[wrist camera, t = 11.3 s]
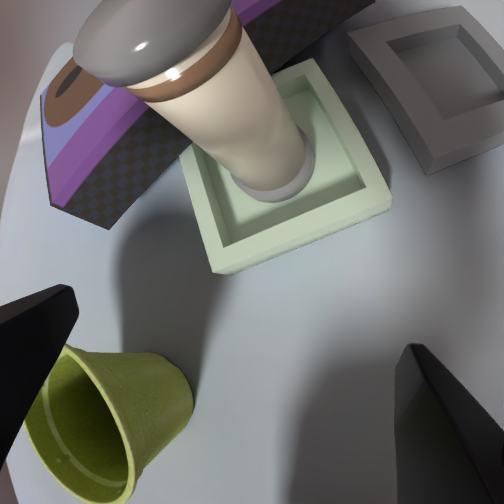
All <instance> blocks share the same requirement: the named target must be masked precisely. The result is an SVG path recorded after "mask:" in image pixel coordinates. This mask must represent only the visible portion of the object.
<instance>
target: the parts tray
mask: <svg viewBox="0 0 504 504" xmlns="http://www.w3.org/2000/svg"><path fill="white" fill-rule="evenodd" d="M270 76H271V78H272V80H273V82H274V84H275V85H276V87H277V89H278V91H279V93H280V95H281V97H282V99H283V101H284V103H285V105H286V107H287V109H288V111H289V113H290V115H291V117H292V119H293V121H294V123H295V124H296V125H297V126H298V127H300V128H301V129H302V130H303V131H304V133H305V134H306V136H307V137H308V140H309V142H310V144H311V146H312V149H313V151H314V155H315V168H314V172H313V175H312V177H311V179H310V181H309V183H308V184H307V186H306V187H305V188H304V189H303V190H302V191H301V192H300V193H298V194H297V195H296V196H294V197H292V198H290V199H288V200H285V201H282V202H277V203H266V202H261V201H258V200H255V199H253V198H252V197H250V196H249V195H248V194H246V193H245V192H244V191H243V190H241V189H240V188H239V187H238V186H237V185H236V184H235V182H234V181H233V179H232V177H231V175H230V172H229V171H228V170H226V169H225V168H224V167H223V166H222V165H221V164H219V163H218V162H217V161H216V160H215V159H213V158H212V157H211V156H210V155H209V154H208V153H206V152H205V151H204V150H203V149H202V148H200V147H199V146H198V145H197V144H196V143H194V142H193V143H192V144H190V145H189V146H188V147H187V148H186V149H185V150H184V151H183V152H182V153H181V154H180V155H179V158H180V162H181V165H182V169H183V173H184V176H185V180H186V184H187V187H188V191H189V194H190V198H191V201H192V205H193V208H194V212H195V215H196V219H197V222H198V226H199V229H200V232H201V236H202V239H203V243H204V246H205V249H206V253H207V256H208V259H209V262H210V266H211V269H212V272H213V273H219V274H225V275H232V274H234V273H237V272H239V271H242V270H244V269H247V268H249V267H252V266H254V265H257V264H259V263H262V262H264V261H267V260H269V259H272V258H274V257H277V256H279V255H282V254H284V253H287V252H289V251H291V250H294V249H296V248H299V247H301V246H304V245H306V244H309V243H311V242H313V241H316V240H318V239H321V238H323V237H326V236H328V235H331V234H333V233H335V232H338V231H340V230H343V229H345V228H347V227H350V226H352V225H355V224H357V223H360V222H362V221H364V220H367V219H369V218H372V217H374V216H376V215H379V214H381V213H384V212H386V211H388V210H389V209H390V206H391V203H392V199H393V197H392V195H391V193H390V190H389V188H388V186H387V184H386V182H385V180H384V178H383V176H382V174H381V172H380V170H379V168H378V166H377V164H376V162H375V160H374V159H373V157H372V155H371V153H370V151H369V149H368V147H367V145H366V144H365V142H364V140H363V138H362V136H361V135H360V133H359V131H358V129H357V127H356V126H355V124H354V122H353V121H352V119H351V117H350V115H349V114H348V112H347V110H346V109H345V107H344V105H343V104H342V102H341V101H340V99H339V97H338V96H337V94H336V93H335V91H334V89H333V88H332V86H331V85H330V83H329V82H328V80H327V79H326V77H325V75H324V74H323V72H322V71H321V70H320V68H319V67H318V65H317V64H316V62H315V61H314V59H313V58H311V59H308V60H306V61H303V62H301V63H298V64H296V65H293V66H291V67H289V68H286V69H284V70H282V71H279V72H277V73H275V74H272V75H270Z"/></svg>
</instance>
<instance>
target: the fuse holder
mask: <svg viewBox="0 0 504 504" xmlns="http://www.w3.org/2000/svg"><path fill="white" fill-rule="evenodd" d="M347 35H348V41H349V48H350V55H351V57H352V59H353V60H354V61H355V63H356V64H357V65H358V67H359V68H360V69H361V71H362V72H363V73H364V75H365V76H366V78H367V79H368V80H369V82H370V83H371V85H372V86H373V88H374V89H375V91H376V92H377V93H378V95H379V96H380V98H381V99H382V101H383V103H384V104H385V106H386V107H387V109H388V110H389V112H390V113H391V115H392V117H393V118H394V120H395V121H396V123H397V125H398V126H399V128H400V130H401V131H402V133H403V135H404V136H405V138H406V140H407V142H408V143H409V145H410V147H411V149H412V150H413V152H414V154H415V156H416V158H417V160H418V161H419V163H420V165H421V167H422V169H423V171H424V173H425V175H426V176H427V175H430V174H432V173H434V172H437V171H439V170H442V169H444V168H447V167H449V166H451V165H454V164H456V163H459V162H461V161H464V160H466V159H468V158H471V157H473V156H476V155H478V154H481V153H483V152H485V151H488V150H490V149H493V148H495V147H498V146H500V145H502V144H504V50H503V49H502V47H501V46H500V45H499V44H498V43H497V42H496V41H495V39H494V38H493V37H492V36H491V35H490V34H489V33H488V32H487V31H486V30H485V29H484V27H483V26H482V25H481V24H480V23H479V22H478V21H477V20H476V19H475V18H474V17H473V16H472V15H471V14H470V13H469V12H468V11H467V10H466V9H464V8H463V7H462V6H455V7H449V8H443V9H437V10H432V11H427V12H422V13H417V14H413V15H409V16H404V17H400V18H396V19H392V20H388V21H385V22H381V23H377V24H374V25H370V26H367V27H363V28H360V29H357V30H354V31H351V32H348V33H347Z"/></svg>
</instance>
